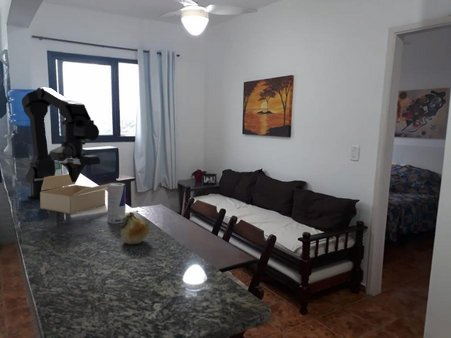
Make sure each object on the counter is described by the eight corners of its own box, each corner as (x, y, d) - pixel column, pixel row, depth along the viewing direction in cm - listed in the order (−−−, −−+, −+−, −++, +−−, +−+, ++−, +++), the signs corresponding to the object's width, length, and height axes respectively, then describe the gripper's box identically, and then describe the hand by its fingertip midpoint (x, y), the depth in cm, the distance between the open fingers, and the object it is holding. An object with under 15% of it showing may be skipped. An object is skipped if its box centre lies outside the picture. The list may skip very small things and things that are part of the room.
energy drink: (128, 220, 107) (129, 183, 105) (118, 224, 102) (118, 186, 100) (114, 218, 108) (115, 182, 107) (103, 222, 103) (104, 184, 102)
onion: (121, 249, 82) (121, 218, 81) (117, 239, 90) (118, 210, 89) (151, 246, 86) (152, 216, 84) (146, 236, 93) (146, 208, 92)
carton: (39, 209, 114) (39, 191, 114) (76, 199, 130) (76, 184, 129) (71, 214, 110) (71, 197, 109) (105, 204, 125) (105, 188, 124)
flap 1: (41, 190, 114) (41, 190, 114) (75, 184, 128) (74, 183, 128) (45, 177, 113) (44, 177, 113) (78, 172, 127) (78, 172, 127)
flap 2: (83, 189, 108) (83, 189, 108) (113, 182, 122) (114, 183, 122) (72, 194, 110) (73, 195, 110) (104, 187, 124) (104, 188, 124)
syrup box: (54, 186, 152) (54, 155, 150) (43, 185, 153) (42, 154, 151) (63, 184, 158) (62, 154, 156) (52, 183, 159) (51, 153, 157)
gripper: (33, 137, 112) (34, 182, 114) (77, 141, 106) (77, 189, 108) (60, 136, 123) (60, 178, 125) (101, 140, 116) (101, 184, 118)
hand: (73, 182), depth 119 cm, fingers closed
